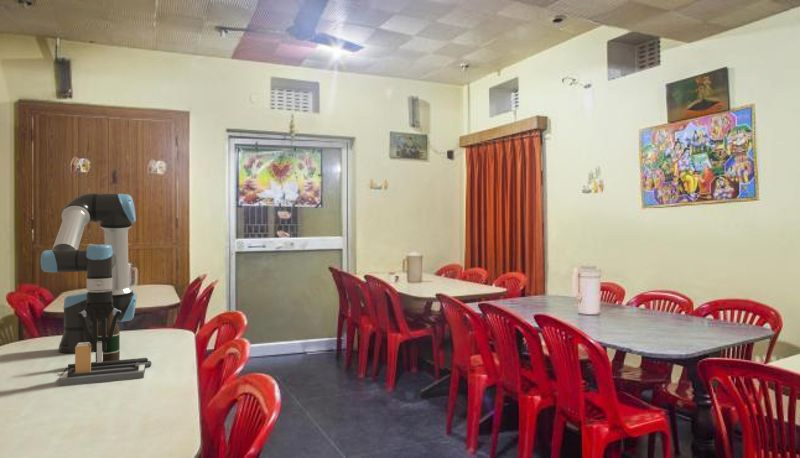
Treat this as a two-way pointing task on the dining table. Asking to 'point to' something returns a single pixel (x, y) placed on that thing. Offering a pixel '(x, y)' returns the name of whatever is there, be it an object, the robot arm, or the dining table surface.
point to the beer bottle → (110, 341)
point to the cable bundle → (115, 363)
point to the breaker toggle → (83, 357)
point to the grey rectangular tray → (103, 374)
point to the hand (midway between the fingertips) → (99, 361)
